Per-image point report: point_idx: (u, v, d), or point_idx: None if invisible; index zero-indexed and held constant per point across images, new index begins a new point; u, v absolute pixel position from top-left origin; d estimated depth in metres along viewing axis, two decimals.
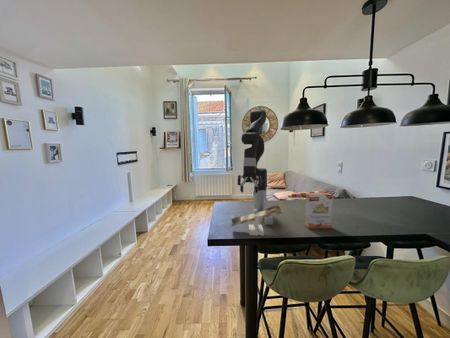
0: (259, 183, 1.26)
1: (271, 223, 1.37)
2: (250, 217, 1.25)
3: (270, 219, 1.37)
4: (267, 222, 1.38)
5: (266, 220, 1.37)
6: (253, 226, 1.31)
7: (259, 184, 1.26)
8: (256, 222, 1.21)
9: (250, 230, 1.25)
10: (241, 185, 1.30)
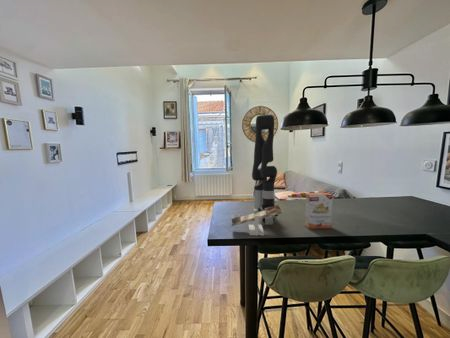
0: None
1: (271, 223, 1.37)
2: (250, 217, 1.25)
3: (270, 219, 1.37)
4: (267, 221, 1.38)
5: (266, 220, 1.37)
6: (253, 226, 1.31)
7: (276, 215, 1.38)
8: (256, 222, 1.21)
9: (250, 230, 1.25)
10: None
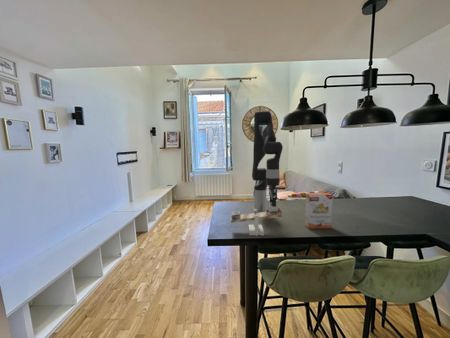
0: (272, 197, 1.19)
1: (269, 212, 1.25)
2: (250, 216, 1.25)
3: (268, 207, 1.25)
4: (268, 209, 1.27)
5: None
6: (253, 226, 1.31)
7: (272, 198, 1.19)
8: (256, 222, 1.21)
9: (250, 230, 1.25)
10: (269, 195, 1.30)
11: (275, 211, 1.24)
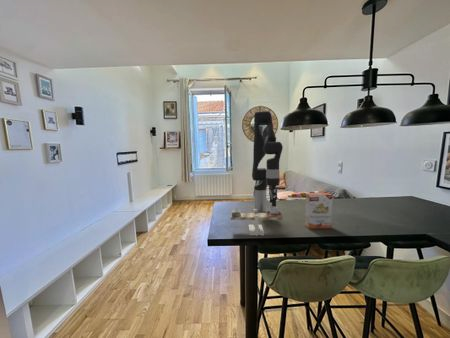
0: (272, 197, 1.19)
1: (269, 214, 1.25)
2: (250, 216, 1.25)
3: (269, 209, 1.25)
4: (269, 211, 1.27)
5: None
6: (253, 226, 1.31)
7: (272, 198, 1.19)
8: (256, 222, 1.21)
9: (250, 230, 1.25)
10: (269, 195, 1.30)
11: (276, 213, 1.24)
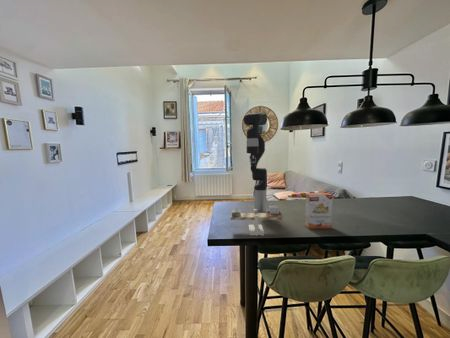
0: (251, 162, 1.31)
1: (269, 214, 1.25)
2: (250, 216, 1.25)
3: (269, 209, 1.25)
4: (269, 211, 1.27)
5: None
6: (253, 226, 1.31)
7: (251, 163, 1.31)
8: (256, 222, 1.21)
9: (250, 230, 1.25)
10: (250, 164, 1.42)
11: (276, 213, 1.24)
